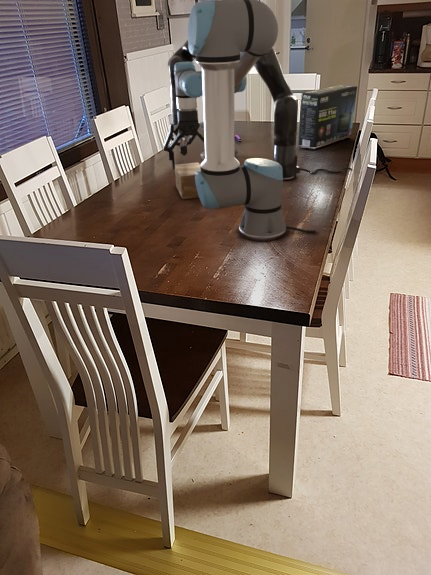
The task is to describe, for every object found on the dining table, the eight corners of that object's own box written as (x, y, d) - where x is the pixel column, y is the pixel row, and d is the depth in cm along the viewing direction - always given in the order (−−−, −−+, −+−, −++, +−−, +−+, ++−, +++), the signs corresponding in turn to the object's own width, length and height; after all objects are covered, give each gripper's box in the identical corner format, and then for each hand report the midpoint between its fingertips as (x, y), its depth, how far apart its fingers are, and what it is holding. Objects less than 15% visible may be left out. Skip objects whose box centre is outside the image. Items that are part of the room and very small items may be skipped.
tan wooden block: (176, 186, 192) (174, 164, 188) (199, 183, 194) (198, 162, 189) (182, 199, 179) (180, 176, 174) (207, 196, 181) (206, 173, 176)
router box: (314, 151, 231) (318, 94, 217) (296, 148, 237) (299, 92, 224) (352, 138, 251) (358, 85, 238) (335, 135, 258) (340, 83, 245)
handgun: (221, 135, 268) (221, 132, 267) (234, 134, 269) (234, 130, 268) (228, 143, 251) (228, 140, 250) (242, 142, 252) (242, 138, 251)
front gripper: (218, 104, 172) (219, 160, 183) (152, 109, 168) (157, 167, 179) (223, 108, 166) (224, 166, 177) (154, 113, 162) (160, 172, 173)
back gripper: (195, 108, 187) (197, 151, 196) (163, 111, 185) (166, 154, 194) (198, 111, 181) (201, 155, 190) (165, 114, 179) (169, 159, 188)
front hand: (190, 166), depth 178 cm, fingers open, 13 cm apart
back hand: (183, 155), depth 192 cm, fingers closed
